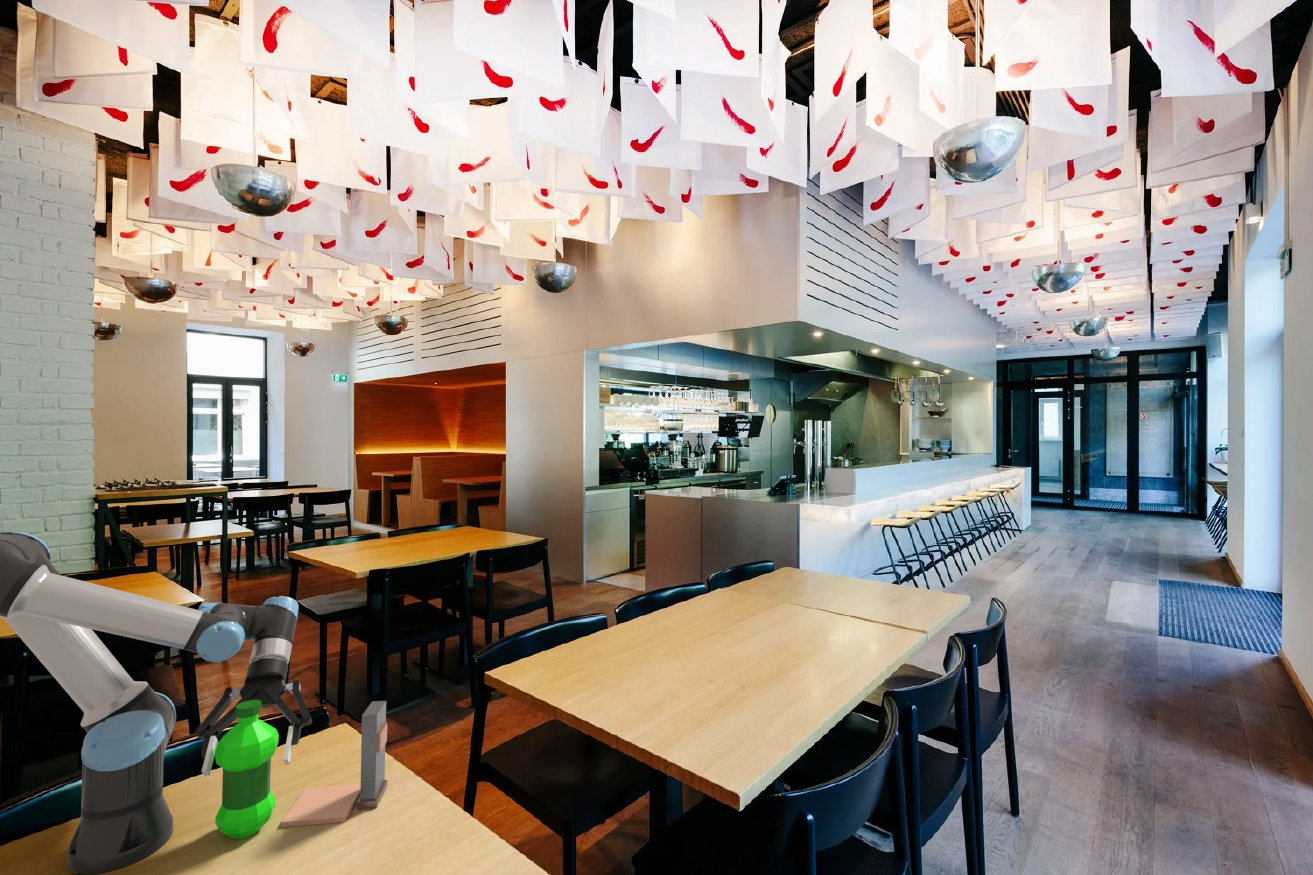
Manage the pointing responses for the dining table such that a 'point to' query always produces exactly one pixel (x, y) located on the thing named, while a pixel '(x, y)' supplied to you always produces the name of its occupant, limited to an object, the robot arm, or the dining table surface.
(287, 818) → the terracotta pad
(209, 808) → the dining table surface
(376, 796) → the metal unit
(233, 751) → the plastic bottle
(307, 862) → the dining table surface
